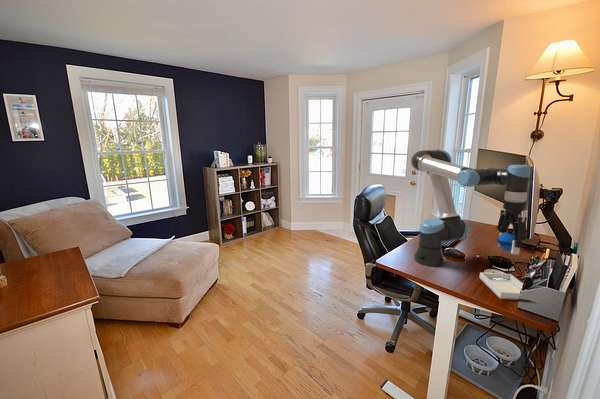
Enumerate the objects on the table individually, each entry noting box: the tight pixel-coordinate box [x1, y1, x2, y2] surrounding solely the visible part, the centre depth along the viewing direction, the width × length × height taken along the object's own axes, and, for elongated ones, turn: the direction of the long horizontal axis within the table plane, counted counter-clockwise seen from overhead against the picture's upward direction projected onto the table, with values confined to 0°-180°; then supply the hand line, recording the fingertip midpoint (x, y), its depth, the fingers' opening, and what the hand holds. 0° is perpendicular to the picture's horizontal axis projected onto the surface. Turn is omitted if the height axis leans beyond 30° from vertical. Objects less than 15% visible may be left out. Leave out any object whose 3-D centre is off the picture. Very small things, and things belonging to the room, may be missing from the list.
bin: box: [478, 272, 524, 301], centre depth 120 cm, size 14×18×3 cm
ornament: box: [497, 228, 523, 252], centre depth 117 cm, size 9×9×10 cm
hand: (508, 249), depth 118 cm, fingers closed on ornament, 9 cm apart
